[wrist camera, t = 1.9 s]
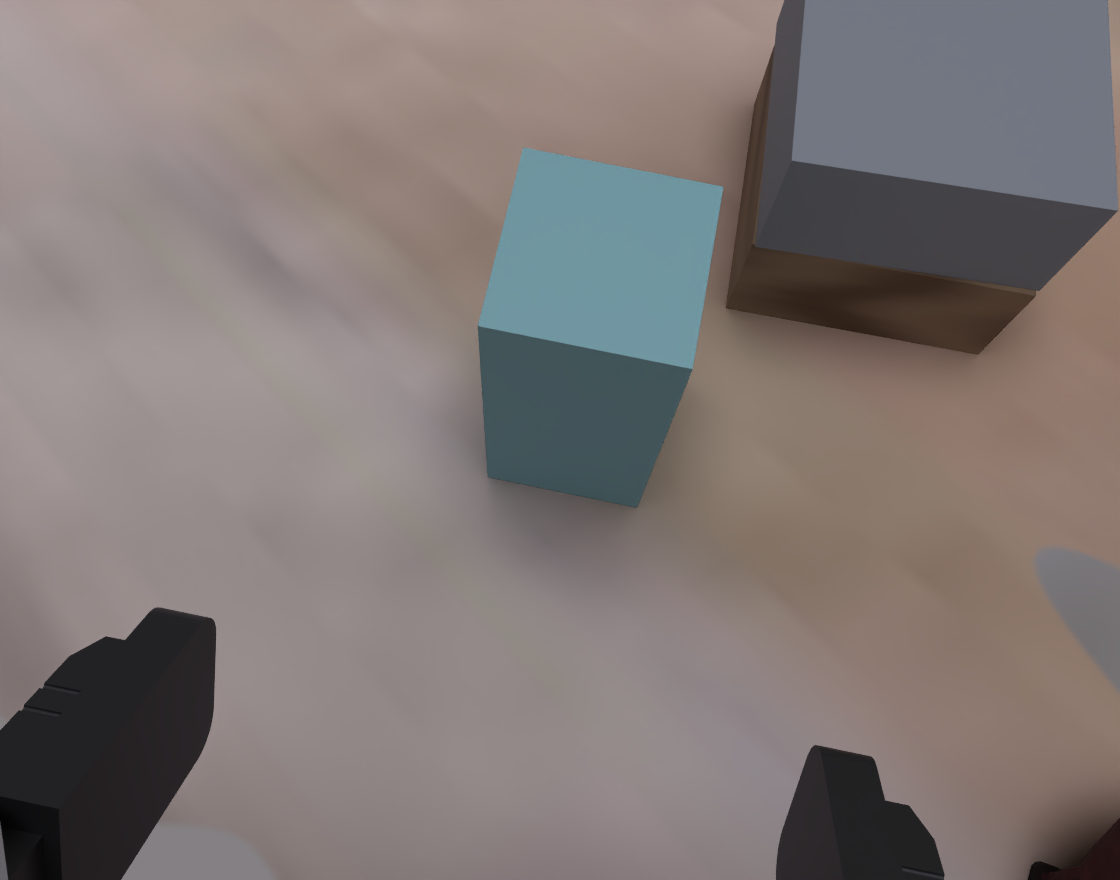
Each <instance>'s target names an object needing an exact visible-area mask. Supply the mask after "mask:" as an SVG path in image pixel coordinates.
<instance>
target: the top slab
mask: <svg viewBox="0 0 1120 880" xmlns="http://www.w3.org/2000/svg"><path fill="white" fill-rule="evenodd" d="M1117 211H1118V198H1117V178H1116V157H1115V137H1114V117H1113V96H1112V76H1111V56H1110V35H1109V15H1108V0H784V3H783V6H782V9H781V12H780V15H779V18H778V22H777V27H776V37H775V47H774V58H773V68H772V79H771V89H770V99H769V110H768V120H767V130H766V141H765V151H764V162H763V172H762V182H761V193H760V203H759V213H758V224H757V234H756V245H755V247H759V248H766V249H772V250H779V251H785V252H792V253H798V254H805V255H811V256H818V257H824V258H830V259H837V260H843V261H850V262H856V263H863V264H869V265H876V266H882V267H889V268H895V269H902V270H908V271H914V272H921V273H927V274H934V275H940V276H947V277H953V278H960V279H966V280H973V281H979V282H986V283H992V284H999V285H1005V286H1011V287H1018V288H1024V289H1031V290H1037V291H1040V290H1041V289H1042V288H1043V286H1044V285H1045V284H1046V283H1047V282H1048V281H1049V280H1050V279H1051V278H1052V277H1053V276H1054V275H1055V274H1056V273H1057V272H1058V271H1059V270H1060V269H1061V268H1062V267H1063V266H1064V265H1065V264H1066V263H1067V262H1068V261H1069V260H1070V259H1071V258H1072V257H1073V256H1074V255H1075V254H1076V253H1077V252H1078V251H1079V250H1080V249H1081V248H1082V247H1083V246H1084V245H1085V244H1086V243H1087V242H1088V241H1089V240H1090V239H1091V238H1092V237H1093V236H1094V235H1095V234H1096V233H1097V232H1098V231H1099V230H1100V229H1101V228H1102V227H1103V226H1104V225H1105V224H1106V222H1107V221H1108V220H1109V219H1110V218H1111V217H1112V216H1113V215H1114V214H1115V213H1116V212H1117Z"/></svg>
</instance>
